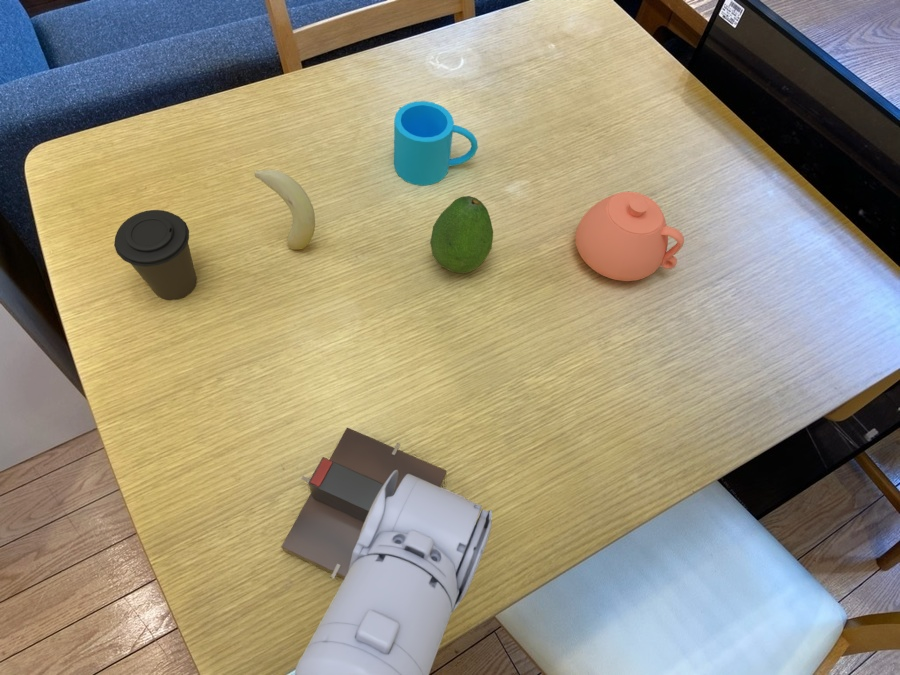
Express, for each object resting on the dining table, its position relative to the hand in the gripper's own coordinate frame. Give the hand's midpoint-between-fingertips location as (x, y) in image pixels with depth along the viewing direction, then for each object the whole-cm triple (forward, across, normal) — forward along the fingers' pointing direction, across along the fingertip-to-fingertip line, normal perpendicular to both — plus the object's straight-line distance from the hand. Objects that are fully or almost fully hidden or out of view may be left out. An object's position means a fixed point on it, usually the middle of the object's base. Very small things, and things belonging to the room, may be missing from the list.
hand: (411, 597), depth 55 cm
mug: (+9, -57, -22) cm, 62 cm away
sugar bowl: (+9, -53, +8) cm, 54 cm away
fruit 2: (+9, -42, -12) cm, 45 cm away
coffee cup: (+9, -23, -43) cm, 50 cm away
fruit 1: (+9, -35, -33) cm, 49 cm away
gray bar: (+6, -7, -8) cm, 12 cm away
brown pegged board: (+8, -7, -8) cm, 14 cm away
